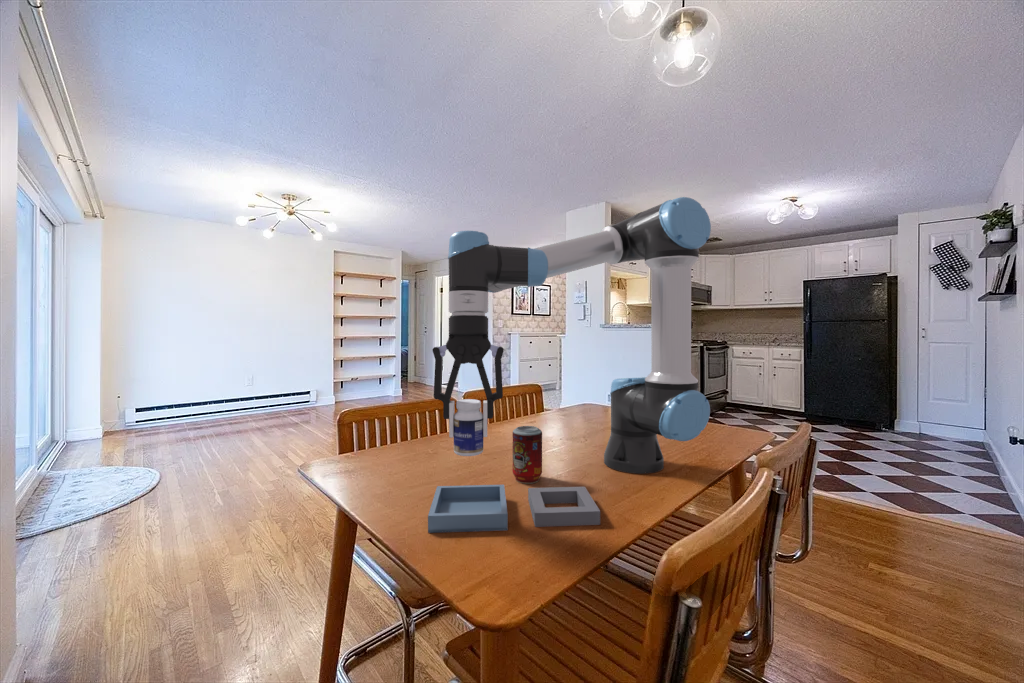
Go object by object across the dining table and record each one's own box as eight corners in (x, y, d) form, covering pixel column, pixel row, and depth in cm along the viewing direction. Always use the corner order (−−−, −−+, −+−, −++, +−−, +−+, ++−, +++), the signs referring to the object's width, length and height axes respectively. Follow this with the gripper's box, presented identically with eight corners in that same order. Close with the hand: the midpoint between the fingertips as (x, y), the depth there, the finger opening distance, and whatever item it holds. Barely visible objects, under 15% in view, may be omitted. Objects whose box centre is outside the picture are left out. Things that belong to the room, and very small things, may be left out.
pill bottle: (447, 454, 79) (447, 402, 79) (464, 446, 84) (464, 397, 84) (473, 458, 77) (472, 404, 76) (489, 450, 82) (489, 400, 81)
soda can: (506, 481, 98) (507, 429, 98) (521, 472, 104) (521, 423, 104) (533, 487, 95) (534, 433, 94) (546, 477, 101) (547, 426, 101)
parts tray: (504, 498, 88) (504, 484, 88) (507, 530, 74) (507, 513, 74) (437, 500, 87) (437, 486, 87) (428, 532, 73) (427, 516, 73)
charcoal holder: (584, 498, 88) (584, 486, 88) (600, 524, 76) (600, 511, 76) (528, 499, 88) (528, 488, 87) (534, 526, 76) (534, 513, 76)
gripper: (415, 313, 75) (416, 441, 76) (518, 314, 77) (518, 439, 77) (421, 315, 83) (422, 431, 84) (516, 315, 84) (515, 430, 85)
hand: (468, 435), depth 80 cm, fingers closed on pill bottle, 6 cm apart
